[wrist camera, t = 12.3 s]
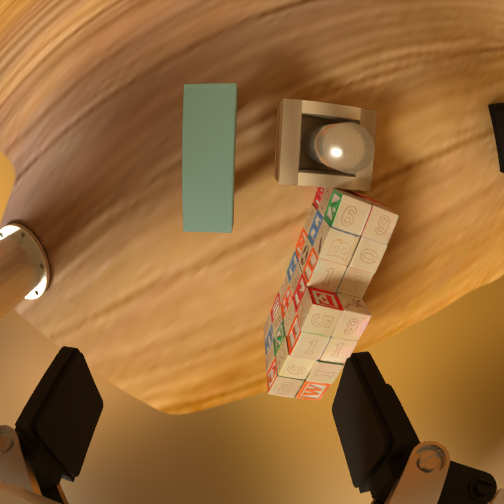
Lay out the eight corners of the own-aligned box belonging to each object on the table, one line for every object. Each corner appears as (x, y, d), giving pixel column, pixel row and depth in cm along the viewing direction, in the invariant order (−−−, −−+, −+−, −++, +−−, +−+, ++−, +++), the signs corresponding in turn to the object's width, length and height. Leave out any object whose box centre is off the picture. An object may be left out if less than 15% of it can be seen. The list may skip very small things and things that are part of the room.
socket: (274, 175, 32) (279, 184, 27) (277, 105, 29) (283, 98, 24) (351, 181, 32) (370, 191, 27) (356, 114, 30) (377, 111, 24)
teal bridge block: (201, 204, 34) (183, 231, 24) (203, 99, 29) (184, 84, 20) (236, 204, 34) (231, 232, 24) (240, 99, 29) (236, 83, 20)
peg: (302, 124, 29) (326, 119, 20) (337, 127, 29) (375, 126, 20) (300, 160, 31) (324, 171, 21) (335, 163, 31) (371, 175, 22)
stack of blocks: (319, 177, 33) (355, 200, 21) (366, 194, 33) (417, 225, 22) (263, 328, 40) (266, 396, 29) (304, 337, 41) (319, 403, 30)
